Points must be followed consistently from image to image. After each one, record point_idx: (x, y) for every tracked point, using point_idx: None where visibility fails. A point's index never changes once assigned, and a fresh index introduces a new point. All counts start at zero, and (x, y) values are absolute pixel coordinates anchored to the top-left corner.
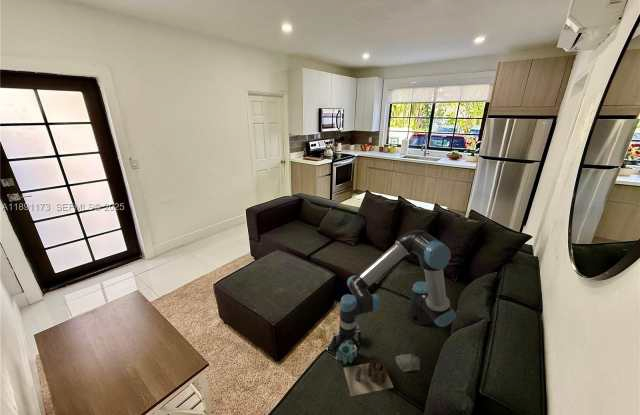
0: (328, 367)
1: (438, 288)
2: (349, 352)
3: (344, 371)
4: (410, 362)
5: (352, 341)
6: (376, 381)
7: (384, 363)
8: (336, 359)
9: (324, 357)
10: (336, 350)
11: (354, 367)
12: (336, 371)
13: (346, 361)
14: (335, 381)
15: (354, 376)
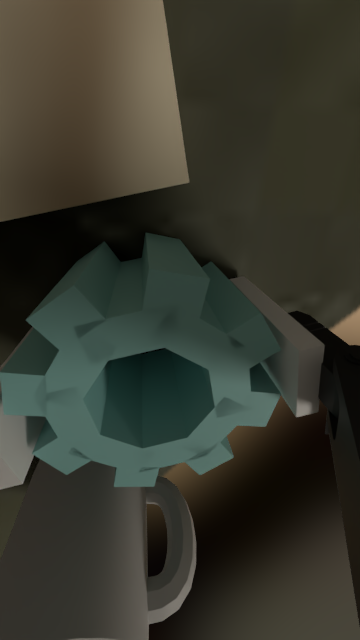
0: (329, 214)
1: None
2: (96, 362)
3: (177, 122)
4: None
5: None
6: None
7: None
8: (255, 286)
9: (335, 311)
10: (357, 374)
11: (35, 188)
12: (259, 165)
13: (147, 246)
14: (299, 7)
15: (17, 12)
